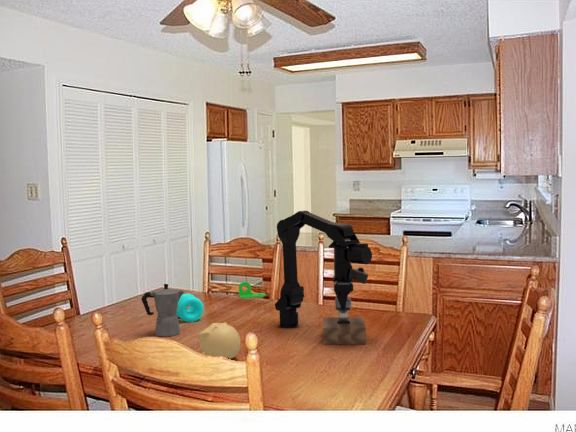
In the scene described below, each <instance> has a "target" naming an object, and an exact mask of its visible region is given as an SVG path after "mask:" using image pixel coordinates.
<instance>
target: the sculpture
mask: <svg viewBox="0 0 576 432" xmlns="http://www.w3.org/2000/svg"><path fill="white" fill-rule="evenodd" d="M198 339H199V341H198V344H199V348H201V349H202V352H203V353H204V355H205V354H206V355H211V356H223V357H226V358H229V359H228V360H231V359H233V358H235V357H236V356H237V355H238V353H239V351H240V348H241V337H240V334H239V332H238V330H237V329H235V328H234V327H233V326H231V325H229V324H228V323H227V322H219V323H217V322H213V323H211V324H210V325H209V326H208V327H207V328H205V329H203V330H202V331H200V332H199V334H198ZM206 355H205V356H206Z"/></svg>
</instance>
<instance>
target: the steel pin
mask: <svg viewBox="0 0 576 432" xmlns="http://www.w3.org/2000/svg"><path fill="white" fill-rule="evenodd" d="M334 301H335V302H334V305H335V306H334V308H335V309H334V310H336V311H338V317H339V324H348V317H349V314H348V313H349V311H351V310H352V298H351V297H349V296H348V297H347V302H346V307H345V309H341V306H340V304H339V301H338V299H337V297H335V298H334Z"/></svg>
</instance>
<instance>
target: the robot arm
mask: <svg viewBox="0 0 576 432" xmlns="http://www.w3.org/2000/svg"><path fill="white" fill-rule="evenodd" d="M305 225H306V226H307V227H311V228H313V229H315V230H317V231H320V232H322V233H324V234H325V235H326V236H327V238H328V239H330V240H331V243H330V244H329V245H328V248H329V249H330V248H331V249H333V274H334V275H332V276H333V277H332V280H333V281H332V283H333V291H334V294H335V296H336V298H337V299H338V301H339V304H340V306H341V309H345V307H346V302H347V297H348V298H349V295H350V293H352V292H354V284H353V281H356V282H360V283H361V284H364V285H366V283H367V281H368V278H369V274H368V273H367V272H365V269H364V268H363V267H361V266H359V267H357V268H353V266H352V264H357V265H359V264H361V265H369V264H370V263H371V261H372V260H373V252H372V249H371V248H370V247H369V243H366V242H363V243H361V242H360V240H359V238H358V237H357V235H356V233H355V231H354V229H353V226H352V225H350V224H348V223H344V222H333V221H331V220H330V219H329V220H328V219H327V218H323V217H322V216H319V215H317V214H314V213H312V212H310V211H308V210H299V211H296V212H295V213H294V214H292V215H289V216H287V217H286V218H284V219H280V220H278V222H277V223H276V232H277V237H278V239H279V241H280V242H281V243H282V244H281V245H282V259H283V260H282V261H283V280H284V281H283V284H282V286H281V288H280V294H279V295H280V296H279V298H278V300H277V301H276V302H275V304H274V307H275V311H279V325H278V327H279V328H297V327H298V325H299V319H300V318H299V312H298V310H297V309H300V308H301V307H302V306H301V305H302V303H303V302H304V298H305V291H304V290H305V289H304V288H305V287H304V286H303V285H301V284H300V283H299V281H298V280H299V279H298V261H297V242H298V239H299V237H300V232H301V229H302V228H303V227H305Z"/></svg>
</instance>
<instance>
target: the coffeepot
mask: <svg viewBox="0 0 576 432" xmlns="http://www.w3.org/2000/svg"><path fill="white" fill-rule="evenodd" d="M163 287H164V288H163V289H158V290H156V291H146V292H145V293H144V294H143V295H142V297H141V303H142V304H143V307H144V309H145V312H146V314H147V315H148V316H153V315H154V313H155V311H156V312H157V317H156V321H155V322H156V323H155V328H154V329H155V331H154V335H156V336H157V337H161V336H162V337H166V338H167V337H174V336H177V335H179V334H180V333H181V327H180V326H181V325H180V321H179V317H178V316H177V312H176V310H177V307H178V301H179V300H180V298H181V296H182V295H183V294H185V291H184V290H181V289H171V288H169V283H164V284H163ZM148 298H152V299H153V300H154V301H153V302H154V306H155V311H154V312H153V311H151V309H150V306H149V303H148V300H147V299H148Z"/></svg>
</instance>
